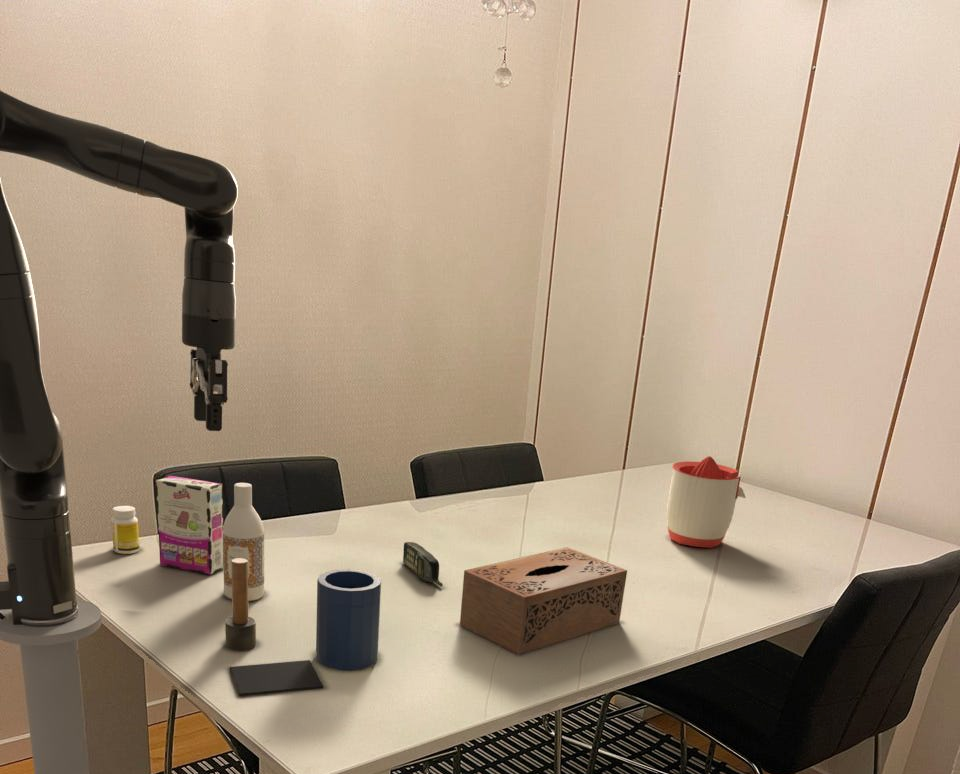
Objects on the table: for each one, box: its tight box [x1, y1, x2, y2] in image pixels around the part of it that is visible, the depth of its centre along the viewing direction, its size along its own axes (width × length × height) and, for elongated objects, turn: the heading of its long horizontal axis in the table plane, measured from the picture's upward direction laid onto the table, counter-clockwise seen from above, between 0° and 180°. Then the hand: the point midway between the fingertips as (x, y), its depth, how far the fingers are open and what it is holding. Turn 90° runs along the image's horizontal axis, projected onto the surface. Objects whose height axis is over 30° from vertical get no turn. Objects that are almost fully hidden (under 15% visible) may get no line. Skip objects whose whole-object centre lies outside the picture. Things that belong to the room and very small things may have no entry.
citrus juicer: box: [666, 456, 747, 549], centre depth 222 cm, size 16×17×20 cm
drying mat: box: [229, 659, 324, 697], centre depth 142 cm, size 12×9×1 cm
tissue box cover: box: [459, 547, 628, 655], centre depth 169 cm, size 26×14×10 cm, turn 133°
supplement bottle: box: [111, 505, 140, 555], centre depth 186 cm, size 5×5×8 cm
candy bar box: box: [155, 475, 224, 576], centre depth 179 cm, size 11×5×16 cm, turn 73°
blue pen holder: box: [315, 568, 382, 672], centre depth 148 cm, size 9×9×13 cm
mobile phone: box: [402, 541, 444, 588], centre depth 188 cm, size 5×3×15 cm
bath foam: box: [222, 482, 265, 602], centre depth 167 cm, size 7×7×20 cm
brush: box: [224, 558, 257, 652], centre depth 149 cm, size 5×5×14 cm
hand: (207, 425), depth 146 cm, fingers open, 8 cm apart
